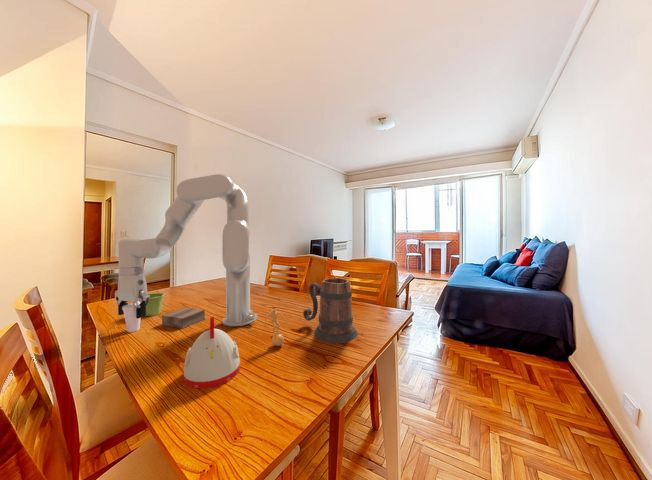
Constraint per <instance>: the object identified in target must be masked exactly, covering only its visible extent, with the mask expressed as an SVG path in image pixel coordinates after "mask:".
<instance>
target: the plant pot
mask: <svg viewBox="0 0 652 480" xmlns="http://www.w3.org/2000/svg"><path fill="white" fill-rule="evenodd" d="M147 294H148V295H149V296H150V298H149V300H148V303H147V306H146V316H145V317H149V316H151V317H154V316H158V315H159V314H161V313H162V304H163V299H164V297H165V294H166V293H163V292H154V293H153V292H152V293H147Z"/></svg>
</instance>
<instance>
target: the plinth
mask: <svg viewBox="0 0 652 480" xmlns="http://www.w3.org/2000/svg"><path fill="white" fill-rule="evenodd" d="M205 313H206V312H205V309H199V308H193V307H192V308H191V307H182V308H180V309H177V310H174V311H170V312H168V313H165V314H162V315H161V325H162V326H164V327H165V326H166V327H170V328H177V329H185V328H187V327H190V326H193V325H195V324H196V323H199V322H201V321H204V320H206V318H205V317H206V314H205Z"/></svg>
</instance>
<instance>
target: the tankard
mask: <svg viewBox="0 0 652 480" xmlns="http://www.w3.org/2000/svg"><path fill="white" fill-rule="evenodd" d="M314 287H315V288H314ZM308 292H309V296H310V298H311V302H312V309H311V308H306V309H304V310H303V313H302V315H303V317H304V319H305V320H306V321H312V320H314V319H315V318H316V317H317V314H318V311H319V314H318V325H317V326H316V328H315V329H314V330H313V332H312V333H313V337H315V338H316V339H317V340H319V341H322V342H325V343H332V344H341V343H349V342H352V341H353V340H355V339H357V337H358V336H359V332H358V330H356V328H355V326H354V325H353V322H354V316H353V314H352V313H353V312H352V311H353V307H352V297H353V296H352V295H353V292H352V289H351V283H350V280H348V279H347V278H343V277H340V278H339V277H338V278H336V277H335V278H325V279H323V280H322V282H321V284H319V283H318V282H313V283H311V284H309V286H308ZM317 296H319V300H320V301H319V302H318V298H317ZM318 303H319V304H318ZM318 305H319V307H318ZM318 308H319V310H318ZM310 316H311V317H310Z"/></svg>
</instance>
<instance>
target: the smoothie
mask: <svg viewBox="0 0 652 480" xmlns="http://www.w3.org/2000/svg"><path fill="white" fill-rule="evenodd" d="M136 308H138V307H137V305H136V303H135V302H132V303H128V305H125V306H123V307H122V310H123V311H124V314H123V316H124V321H125V326H126V327H125V328H126V332H127V333H134V332H139V330H140V329H141V328H140V326H141V318H142V317H141V318H136Z"/></svg>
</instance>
